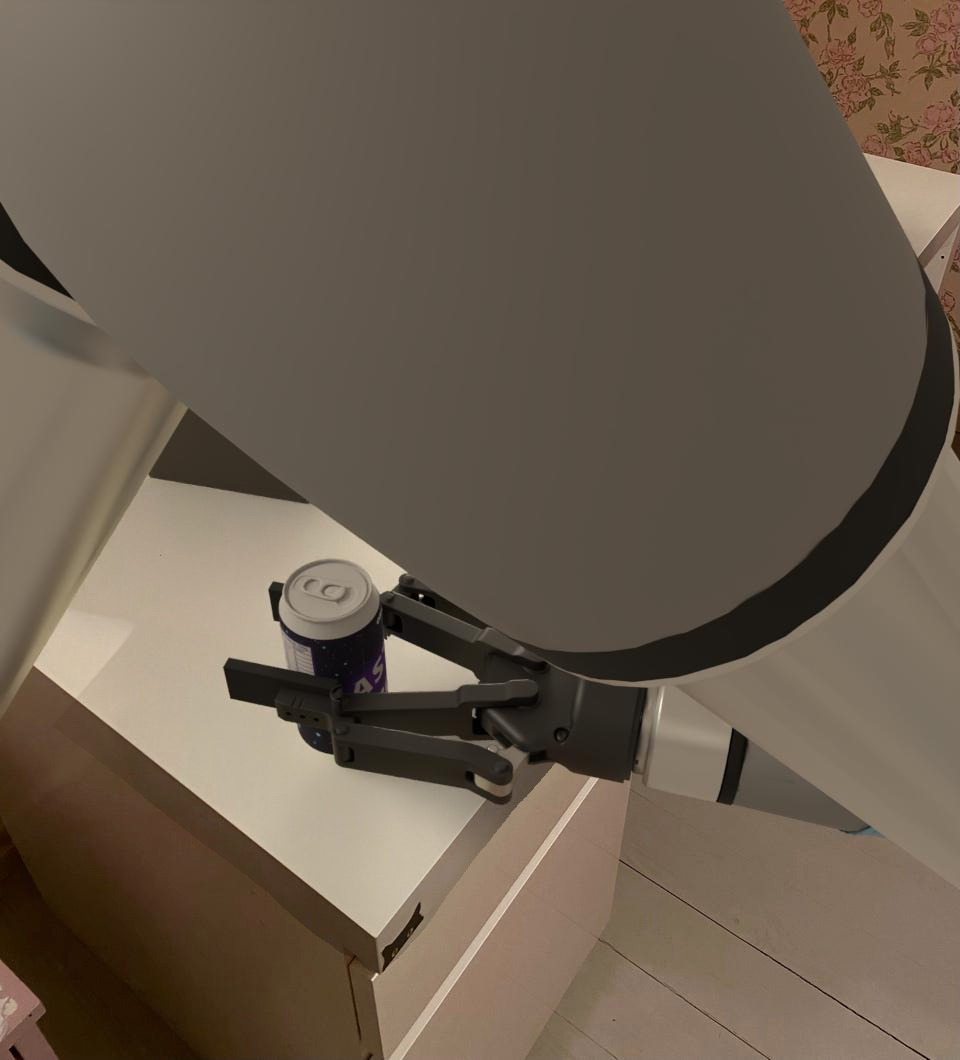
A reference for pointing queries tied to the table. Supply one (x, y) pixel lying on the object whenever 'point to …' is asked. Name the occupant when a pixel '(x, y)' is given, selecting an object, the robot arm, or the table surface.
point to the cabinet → (215, 462)
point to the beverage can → (333, 631)
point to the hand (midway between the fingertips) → (252, 638)
